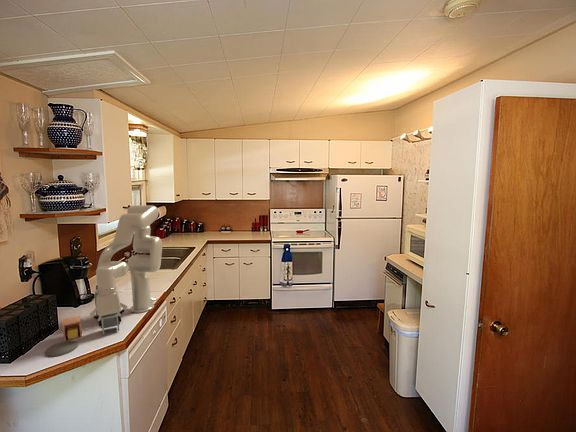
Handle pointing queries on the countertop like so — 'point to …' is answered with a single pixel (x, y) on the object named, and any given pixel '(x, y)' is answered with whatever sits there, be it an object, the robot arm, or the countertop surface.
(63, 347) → the charcoal mat
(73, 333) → the mustard cube
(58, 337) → the countertop surface
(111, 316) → the slate cover
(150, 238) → the robot arm
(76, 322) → the rust cover
